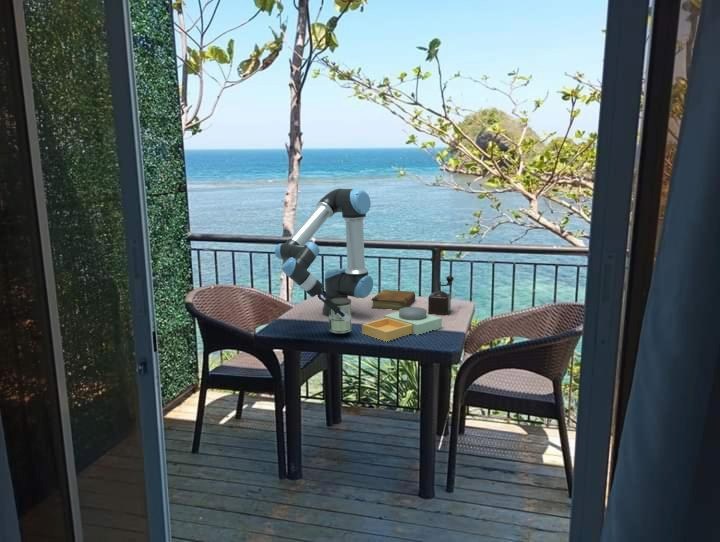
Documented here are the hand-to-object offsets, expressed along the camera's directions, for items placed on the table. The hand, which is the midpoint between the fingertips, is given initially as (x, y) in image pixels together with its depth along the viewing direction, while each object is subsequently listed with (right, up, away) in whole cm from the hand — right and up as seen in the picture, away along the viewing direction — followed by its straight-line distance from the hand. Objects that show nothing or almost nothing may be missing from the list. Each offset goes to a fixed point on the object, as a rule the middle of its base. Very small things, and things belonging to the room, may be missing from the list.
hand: (346, 316), depth 263 cm
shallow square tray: (+18, -8, +1) cm, 20 cm away
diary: (+25, +2, +54) cm, 59 cm away
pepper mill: (+49, 0, +39) cm, 62 cm away
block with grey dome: (+31, -6, +12) cm, 34 cm away
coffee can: (-3, -6, +1) cm, 7 cm away
